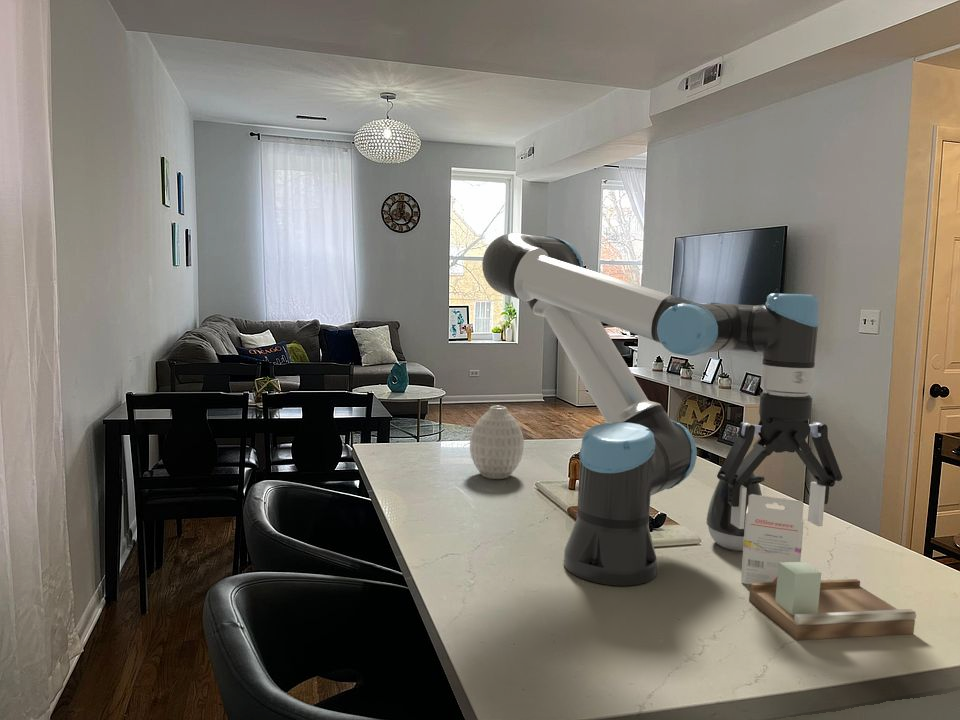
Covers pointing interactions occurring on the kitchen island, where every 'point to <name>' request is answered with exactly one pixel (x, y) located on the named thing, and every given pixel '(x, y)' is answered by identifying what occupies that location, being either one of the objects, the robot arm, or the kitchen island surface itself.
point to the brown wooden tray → (836, 612)
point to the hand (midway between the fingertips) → (776, 525)
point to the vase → (496, 443)
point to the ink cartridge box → (770, 537)
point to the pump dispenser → (729, 514)
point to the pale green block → (798, 588)
